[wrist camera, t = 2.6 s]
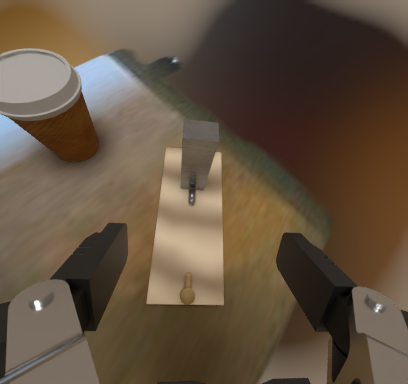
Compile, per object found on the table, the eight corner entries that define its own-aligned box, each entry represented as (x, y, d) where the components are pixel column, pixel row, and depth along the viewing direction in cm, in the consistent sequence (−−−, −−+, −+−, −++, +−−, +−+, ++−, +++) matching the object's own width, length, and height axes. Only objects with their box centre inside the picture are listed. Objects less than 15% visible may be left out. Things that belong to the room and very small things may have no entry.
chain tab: (183, 149, 31) (186, 88, 21) (204, 152, 32) (218, 93, 22) (178, 204, 27) (180, 160, 17) (203, 206, 28) (219, 164, 18)
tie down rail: (166, 152, 33) (165, 137, 29) (219, 157, 34) (224, 143, 30) (148, 302, 24) (143, 306, 20) (221, 303, 24) (229, 307, 21)
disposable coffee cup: (89, 114, 34) (48, 36, 23) (121, 149, 32) (93, 82, 21) (32, 141, 30) (-47, 64, 20) (64, 182, 28) (-5, 122, 18)
